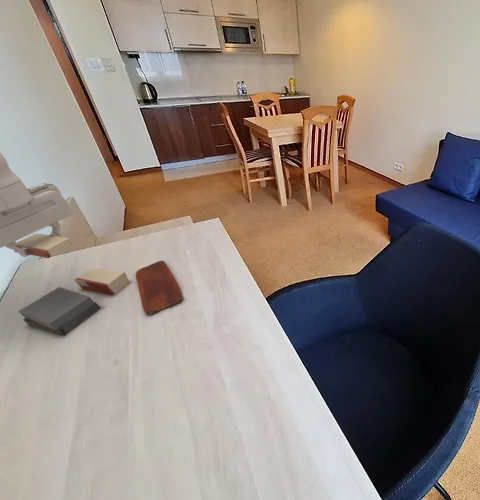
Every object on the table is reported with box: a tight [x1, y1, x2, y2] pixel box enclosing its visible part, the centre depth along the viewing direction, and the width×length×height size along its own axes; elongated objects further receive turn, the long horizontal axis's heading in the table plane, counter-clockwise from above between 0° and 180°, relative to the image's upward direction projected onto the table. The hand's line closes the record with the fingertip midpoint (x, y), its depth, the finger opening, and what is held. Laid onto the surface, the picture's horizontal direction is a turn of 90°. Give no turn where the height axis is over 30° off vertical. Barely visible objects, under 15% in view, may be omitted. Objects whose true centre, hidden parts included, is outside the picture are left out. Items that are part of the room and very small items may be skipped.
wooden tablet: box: [135, 260, 184, 316], centre depth 92 cm, size 27×10×2 cm, turn 37°
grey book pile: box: [17, 286, 101, 337], centre depth 82 cm, size 15×11×5 cm
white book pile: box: [74, 267, 131, 297], centre depth 93 cm, size 13×7×4 cm, turn 73°
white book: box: [13, 232, 74, 259], centre depth 77 cm, size 13×6×2 cm, turn 72°
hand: (43, 247), depth 77 cm, fingers closed on white book, 6 cm apart
